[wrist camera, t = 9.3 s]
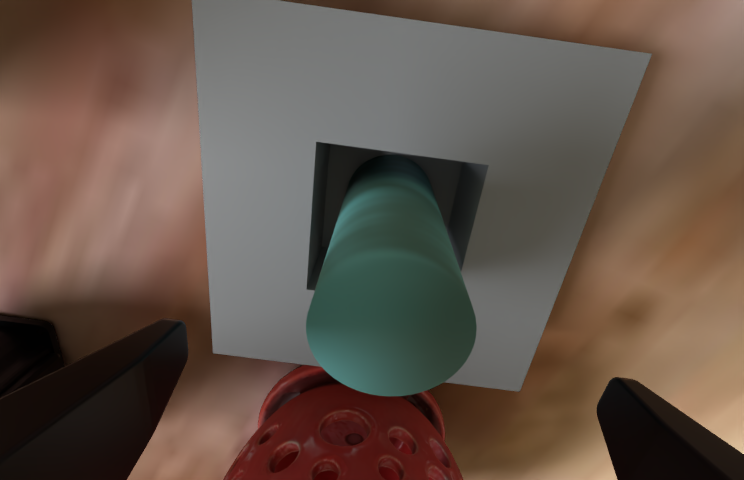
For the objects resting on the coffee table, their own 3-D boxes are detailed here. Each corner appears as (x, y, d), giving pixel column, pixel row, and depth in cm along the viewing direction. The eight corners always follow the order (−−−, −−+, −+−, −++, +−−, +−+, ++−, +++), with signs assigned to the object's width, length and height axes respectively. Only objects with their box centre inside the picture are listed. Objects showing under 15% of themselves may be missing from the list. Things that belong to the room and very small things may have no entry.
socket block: (249, 292, 22) (213, 353, 17) (246, 8, 16) (191, -13, 11) (492, 324, 22) (519, 391, 18) (578, 55, 16) (651, 53, 12)
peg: (343, 230, 19) (301, 385, 10) (351, 149, 17) (310, 247, 8) (423, 241, 19) (456, 405, 10) (439, 161, 17) (496, 271, 8)
